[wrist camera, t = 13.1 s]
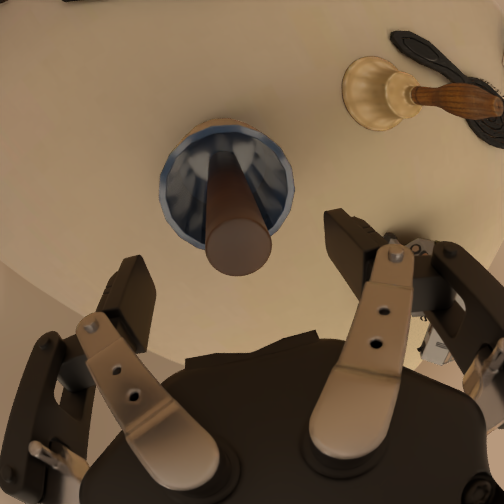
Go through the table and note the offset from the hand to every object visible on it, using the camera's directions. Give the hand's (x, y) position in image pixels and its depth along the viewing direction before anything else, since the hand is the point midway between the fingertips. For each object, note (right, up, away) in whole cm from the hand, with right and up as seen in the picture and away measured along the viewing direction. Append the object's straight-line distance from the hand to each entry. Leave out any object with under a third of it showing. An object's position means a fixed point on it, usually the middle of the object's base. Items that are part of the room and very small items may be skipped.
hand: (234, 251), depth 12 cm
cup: (-2, +8, +14) cm, 17 cm away
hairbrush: (+27, +20, +12) cm, 36 cm away
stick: (-2, +8, +14) cm, 16 cm away
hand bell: (+14, +16, +12) cm, 24 cm away
